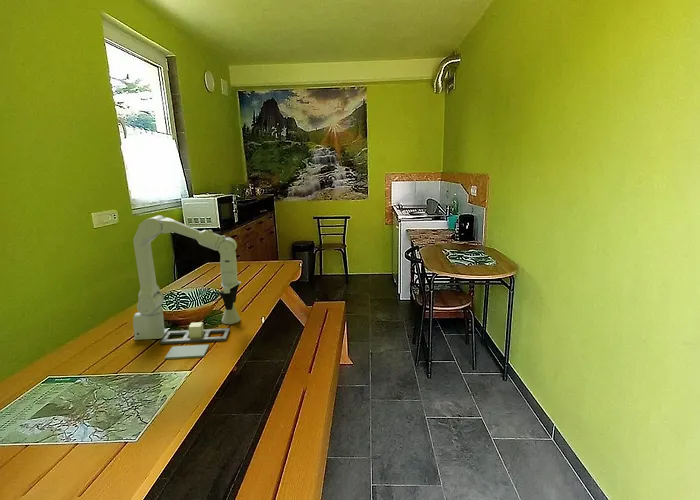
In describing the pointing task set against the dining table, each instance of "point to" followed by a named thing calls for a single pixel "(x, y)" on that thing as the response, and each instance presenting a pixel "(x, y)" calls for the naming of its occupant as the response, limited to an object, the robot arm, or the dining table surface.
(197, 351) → the pad
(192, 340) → the grey slotted frame
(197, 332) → the peg
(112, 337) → the dining table surface
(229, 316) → the flask
